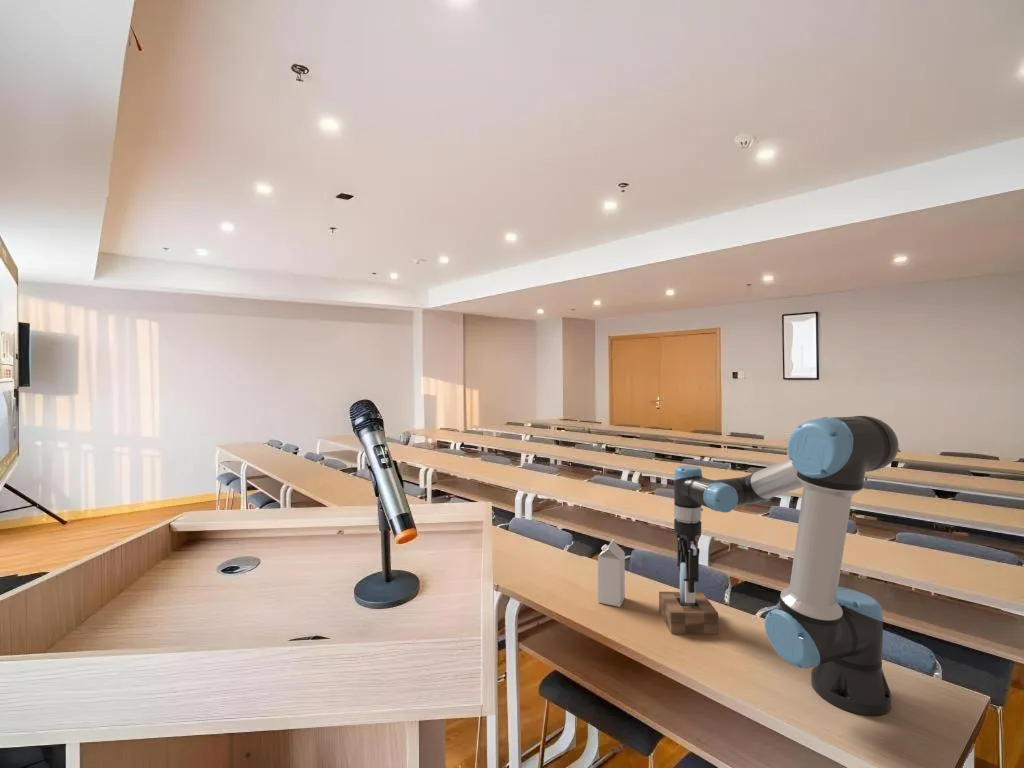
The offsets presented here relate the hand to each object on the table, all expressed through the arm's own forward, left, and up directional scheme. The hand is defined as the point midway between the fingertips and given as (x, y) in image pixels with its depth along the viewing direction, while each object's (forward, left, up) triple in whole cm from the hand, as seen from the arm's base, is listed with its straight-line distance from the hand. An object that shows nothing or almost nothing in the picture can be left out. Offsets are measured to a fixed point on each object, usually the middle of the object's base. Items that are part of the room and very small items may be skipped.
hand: (687, 598), depth 144 cm
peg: (0, 0, -4) cm, 4 cm away
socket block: (0, 0, -7) cm, 7 cm away
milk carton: (+13, +20, -7) cm, 25 cm away
